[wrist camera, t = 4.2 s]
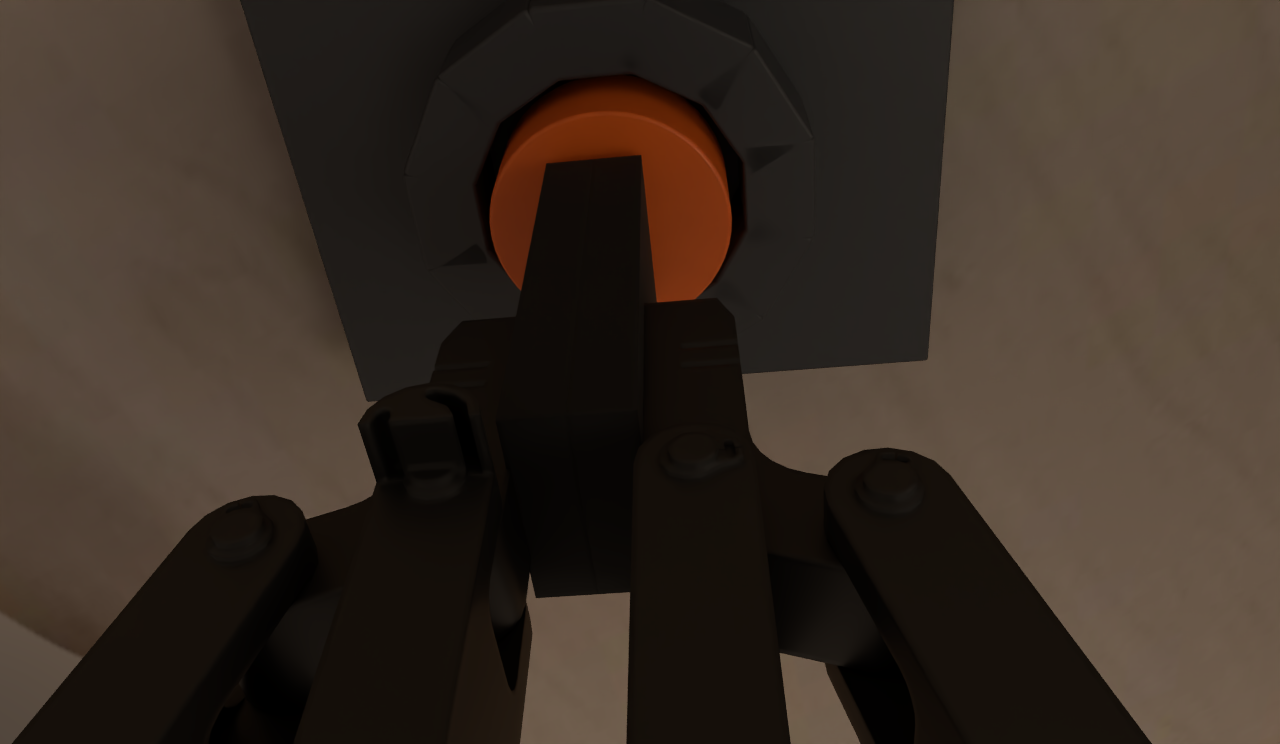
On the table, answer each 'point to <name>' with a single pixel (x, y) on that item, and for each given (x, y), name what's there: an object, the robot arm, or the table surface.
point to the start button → (614, 127)
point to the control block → (664, 55)
